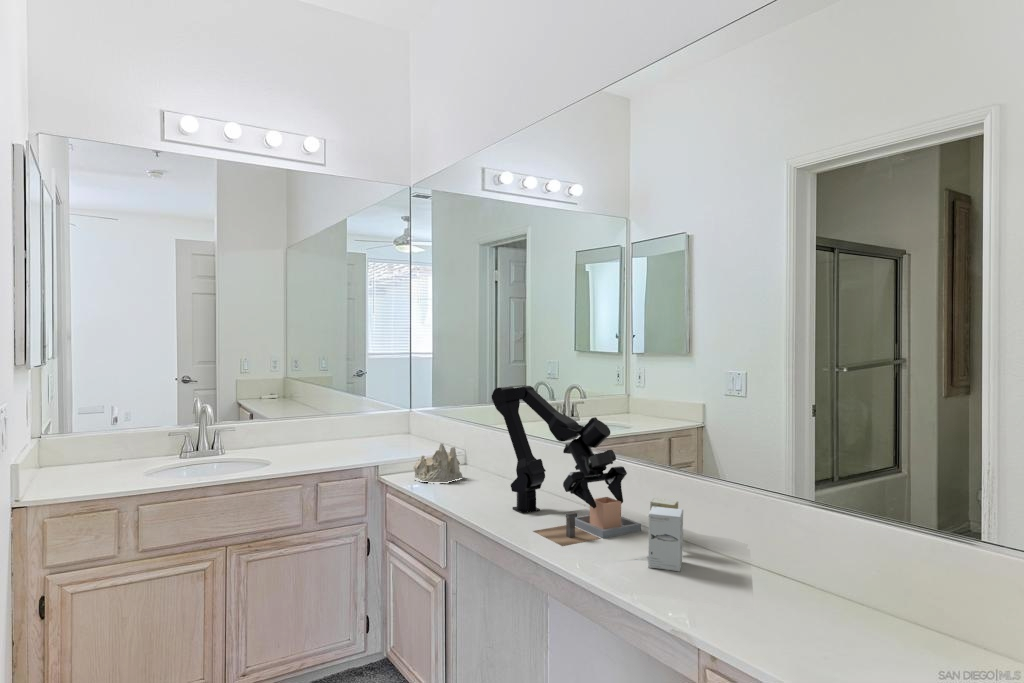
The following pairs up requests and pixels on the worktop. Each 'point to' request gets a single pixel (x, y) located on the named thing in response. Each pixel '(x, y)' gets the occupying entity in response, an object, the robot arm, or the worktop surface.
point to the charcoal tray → (627, 528)
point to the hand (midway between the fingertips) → (608, 505)
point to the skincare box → (663, 503)
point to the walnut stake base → (562, 535)
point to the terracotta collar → (606, 513)
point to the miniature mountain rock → (438, 466)
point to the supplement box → (665, 538)
